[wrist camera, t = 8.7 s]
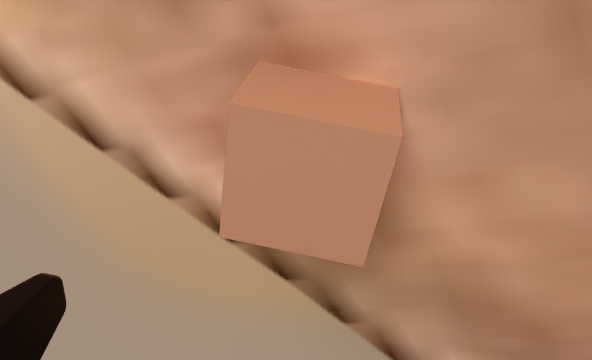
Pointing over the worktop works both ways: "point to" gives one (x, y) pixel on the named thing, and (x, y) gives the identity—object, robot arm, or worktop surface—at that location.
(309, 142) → the rust brick
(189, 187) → the worktop surface
